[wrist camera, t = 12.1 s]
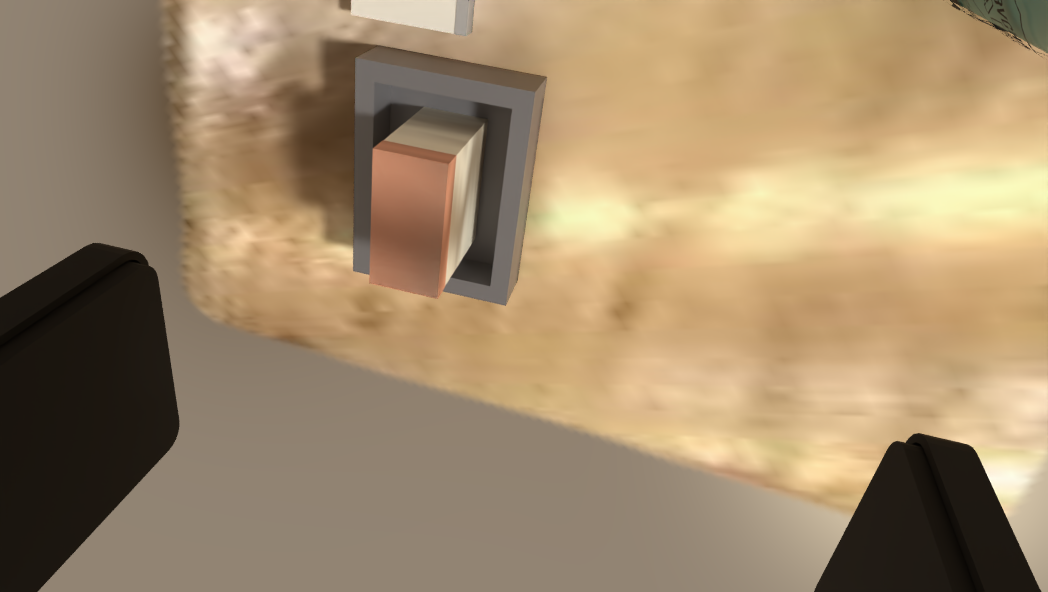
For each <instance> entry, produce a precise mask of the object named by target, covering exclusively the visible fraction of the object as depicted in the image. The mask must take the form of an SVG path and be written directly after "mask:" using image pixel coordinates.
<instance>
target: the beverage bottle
mask: <svg viewBox="0 0 1048 592" xmlns="http://www.w3.org/2000/svg"><path fill="white" fill-rule="evenodd" d="M950 1H951V2H952V3H953V2H954V3H956V4H958V5H959V6H961V7H962V6H963V7H964V8H966V9H968V11H972V12H973V13H975V14H977V15H979V16H981V17H983V18H984V19H986V20H988V21H990V22H991V23H992V24H993V25H994V26H995V28H997V30H1002V31H1007V32H1010V33H1012V34H1013V35H1014V36H1015V37H1014V36H1013V37H1014V38H1016V39H1017V41H1018V40H1019V41H1021V40H1020V39H1018V38H1017V37H1019V38H1021V39H1023V40H1024V41H1026V42H1027V43H1028V44H1029V43H1030V44H1032V45H1033V46H1035V47H1037V48H1039V49H1041V50H1043V51H1044V52H1046V53H1048V0H950ZM954 3H953V5H952V6H953V7H955V8H956V9H958V10H960V8H959V7H958V6H956V5H955V4H954ZM949 5H951V4H949ZM962 11H963V10H962ZM963 12H964V11H963ZM965 13H966V12H965ZM970 13H971V12H970ZM973 13H972V15H973ZM966 14H967V13H966ZM968 15H969V14H968ZM969 16H971V15H969ZM973 16H974V15H973ZM973 16H972V17H973ZM975 16H976V15H975ZM975 16H974V18H975ZM976 19H977V18H976ZM978 20H980V19H978ZM980 21H981V20H980ZM983 21H984V20H982V22H983ZM988 21H986V22H988ZM986 22H984V23H986ZM986 24H988V23H986ZM989 25H990V24H989ZM991 26H992V25H991ZM994 26H993V27H994ZM1005 33H1006V32H1005ZM1002 34H1003V33H1002ZM1006 34H1007V35H1006V36H1007V37H1008V35H1009V34H1008V33H1006ZM1009 36H1010V37H1011V38H1012V36H1011V35H1009ZM1016 36H1017V37H1016ZM1012 39H1013V38H1012ZM1019 41H1018V42H1019ZM1015 42H1016V41H1015ZM1021 42H1022V41H1021ZM1021 42H1020V43H1021ZM1021 44H1022V43H1021ZM1019 45H1020V44H1019ZM1023 46H1024V47H1026V48H1028V47H1027V46H1025V45H1024V44H1023ZM1029 46H1030V45H1029ZM1030 47H1031V46H1030ZM1031 48H1032V47H1031ZM1028 49H1030V48H1028ZM1034 52H1035V51H1034ZM1037 53H1038V52H1037ZM1040 54H1041V53H1040ZM1038 55H1039V54H1038ZM1043 55H1044V54H1043ZM1046 56H1047V55H1046Z"/></svg>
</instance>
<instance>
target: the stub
mask: <svg viewBox="0 0 1048 592" xmlns="http://www.w3.org/2000/svg"><path fill="white" fill-rule="evenodd" d="M487 125H488V119H484V118H479V117H474V116H469V115H464V114H459V113H453V112H448V111H443V110H438V109H433V108H428V107H423V108H422V109H421V110H419V111H418V112H417V113H416V114H415V115H413V116H412V117H411V118H410V119H409V120H407V121H406V122H405V123H404V124H403V125H401V126H400V127H399V128H398V129H397V130H395V131H394V132H393V133H392V134H391V135H389V136H388V137H387V138H386V139H385V140H382V141H381V142H380V143H379V144H378V145H376V146H375V147H374V148H373V161H372V200H371V239H370V278H369V283H371V284H375V285H379V286H384V287H388V288H393V289H397V290H401V291H406V292H410V293H414V294H419V295H423V296H427V297H432V298H436V299H438V297H439V296H440V294H441V293H442V291H443V290H444V288H445V285H446V284H447V282H448V281H449V279H450V277H451V276H452V274H453V273H454V271H455V270H456V268H457V266H458V265H459V263H460V262H461V260H462V258H463V257H464V255H465V254H466V252H467V251H468V249H469V247H470V246H471V244H472V243H473V241H474V239H475V236H476V226H477V217H478V208H479V199H480V189H481V180H482V171H483V162H484V153H485V143H486V134H487Z"/></svg>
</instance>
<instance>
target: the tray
mask: <svg viewBox="0 0 1048 592" xmlns="http://www.w3.org/2000/svg"><path fill="white" fill-rule="evenodd" d="M546 80H547V77H543V76H538V75H533V74H527V73H522V72H517V71H511V70H506V69H501V68H495V67H490V66H485V65H479V64H474V63H469V62H464V61H458V60H453V59H448V58H442V57H437V56H432V55H426V54H421V53H416V52H411V51H405V50H400V49H395V48H389V47H384V46H377V47H375V48H373V49H371V50H369V51H367V52H365V53H363V54H362V55H360V56H358V57H356V58H355V143H354V240H353V271H355V272H360V273H364V274H368V275H370V239H371V200H372V161H373V148H374V147H375V146H376V145H378V144H379V143H380V142H381V141H382V140H385V139H386V138H387V137H388V136H389V135H391V134H392V133H393V132H394V131H395V130H397V129H398V128H399V127H400V126H401V125H403V124H404V123H405V122H406V121H407V120H409V119H410V118H411V117H412V116H413V115H415V114H416V113H417V112H418V111H419V110H421V109H422V108H423V107H428V108H433V109H438V110H443V111H448V112H453V113H459V114H464V115H469V116H474V117H479V118H484V119H488V125H487V134H486V143H485V153H484V162H483V171H482V180H481V189H480V199H479V208H478V217H477V226H476V236H475V239H474V241H473V243H472V244H471V246H470V247H469V249H468V251H467V252H466V254H465V255H464V257H463V258H462V260H461V262H460V263H459V265H458V266H457V268H456V270H455V271H454V273H453V274H452V276H451V277H450V279H449V281H448V282H447V284H446V285H445V288H444V290H443V292H448V293H452V294H457V295H461V296H466V297H470V298H474V299H479V300H483V301H488V302H492V303H496V304H501V305H505V306H506V304H507V302H508V300H509V298H510V295H511V293H512V291H513V289H514V287H515V285H516V283H517V280H518V274H519V267H520V260H521V253H522V246H523V239H524V232H525V225H526V218H527V211H528V204H529V198H530V191H531V184H532V177H533V170H534V163H535V156H536V149H537V142H538V135H539V128H540V122H541V115H542V108H543V101H544V94H545V87H546Z"/></svg>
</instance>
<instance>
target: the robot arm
mask: <svg viewBox="0 0 1048 592" xmlns="http://www.w3.org/2000/svg"><path fill="white" fill-rule="evenodd" d="M178 430H179V415H178V409H177V402H176V396H175V389H174V382H173V376H172V369H171V362H170V355H169V348H168V342H167V336H166V328H165V322H164V316H163V308H162V301H161V295H160V288H159V281H158V276H157V273H156V271H155V270H154V269H153V268H152V267H150V266H149V265H148V261H147V260H146V258H145V257H144V256H143V255H142V254H141V253H139V252H136V251H132V250H128V249H123V248H119V247H114V246H110V245H106V244H101V243H92V244H90V245H87V246H85V247H83V248H82V249H80V250H79V251H77V252H75V253H74V254H72V255H70V256H69V257H67V258H65V259H64V260H62V261H60V262H59V263H57V264H55V265H54V266H52V267H50V268H49V269H47V270H46V271H44V272H42V273H41V274H39V275H37V276H35V277H34V278H32V279H31V280H29V281H27V282H26V283H24V284H22V285H21V286H19V287H17V288H16V289H14V290H12V291H11V292H9V293H7V294H6V295H4V296H2V297H1V298H0V592H38V591H39V589H40V588H41V587H42V586H43V585H44V584H45V583H46V582H47V581H48V580H49V579H50V578H51V577H52V575H53V574H54V573H55V572H56V571H57V570H58V569H59V568H60V567H61V566H62V565H63V564H64V563H65V561H66V560H67V559H68V558H69V557H70V556H71V555H72V554H73V553H74V552H75V551H76V550H77V549H78V547H79V546H80V545H81V544H82V543H83V542H84V541H85V540H86V539H87V537H89V536H90V535H91V533H92V532H93V531H94V530H95V529H96V528H97V527H98V526H99V525H100V524H101V523H102V522H103V521H104V520H105V518H106V517H107V516H108V515H109V514H110V513H111V512H112V511H113V510H114V509H115V508H116V507H117V506H118V504H119V503H120V502H121V501H122V500H123V499H124V498H125V497H126V496H127V495H128V494H129V493H130V492H131V490H132V489H133V488H134V487H135V486H136V485H137V484H138V483H139V482H140V481H141V480H142V479H143V477H144V476H145V475H146V474H147V473H148V472H149V471H150V470H151V469H152V468H153V467H154V465H155V464H157V462H158V461H159V460H160V459H161V458H162V457H163V456H164V455H165V454H166V453H167V452H168V451H169V449H170V448H171V447H172V445H173V444H174V442H175V440H176V437H177V435H178ZM814 592H1041V590H1040V589H1039V586H1038V584H1037V582H1036V580H1035V578H1034V576H1033V573H1032V571H1031V569H1030V567H1029V565H1028V563H1027V560H1026V558H1025V556H1024V554H1023V552H1022V550H1021V548H1020V546H1019V543H1018V541H1017V539H1016V537H1015V535H1014V533H1013V530H1012V528H1011V526H1010V524H1009V522H1008V519H1007V517H1006V515H1005V513H1004V511H1003V509H1002V506H1001V504H1000V502H999V500H998V498H997V496H996V494H995V491H994V489H993V487H992V485H991V483H990V481H989V478H988V476H987V474H986V472H985V470H984V468H983V465H982V463H981V461H980V459H979V457H978V455H977V453H976V451H975V450H974V449H973V447H971V446H969V445H967V444H963V443H959V442H955V441H950V440H946V439H942V438H938V437H933V436H929V435H925V434H920V433H917V434H913V435H912V436H911V437H910V438H909V439H908V440H907V441H906V443H904V442H900V441H896V442H893V443H892V444H891V445H890V446H889V448H888V449H887V451H886V453H885V455H884V457H883V459H882V461H881V463H880V465H879V467H878V468H877V470H876V472H875V474H874V476H873V478H872V480H871V482H870V484H869V486H868V488H867V490H866V492H865V493H864V495H863V497H862V499H861V501H860V503H859V505H858V507H857V509H856V511H855V513H854V515H853V517H852V519H851V520H850V522H849V524H848V526H847V528H846V530H845V532H844V534H843V536H842V538H841V540H840V542H839V544H838V545H837V548H836V549H835V551H834V553H833V555H832V557H831V559H830V561H829V563H828V565H827V567H826V569H825V570H824V572H823V574H822V576H821V578H820V580H819V582H818V584H817V586H816V588H815V591H814Z"/></svg>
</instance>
